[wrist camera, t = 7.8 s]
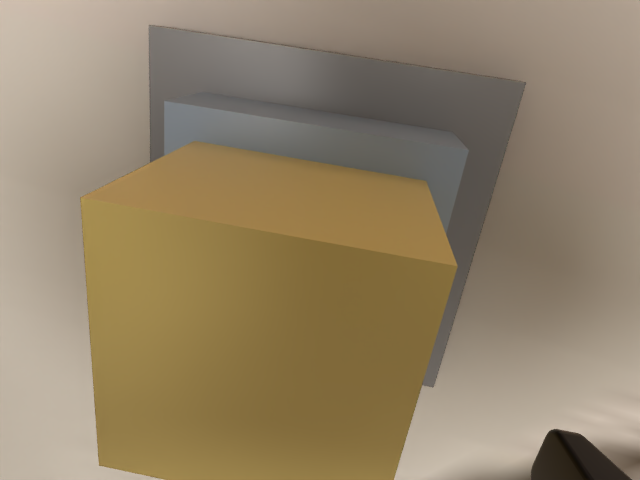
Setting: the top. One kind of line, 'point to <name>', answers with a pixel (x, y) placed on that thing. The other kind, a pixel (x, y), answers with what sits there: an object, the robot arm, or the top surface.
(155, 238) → the mustard brick
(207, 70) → the baseplate
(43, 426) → the top surface
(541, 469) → the robot arm
